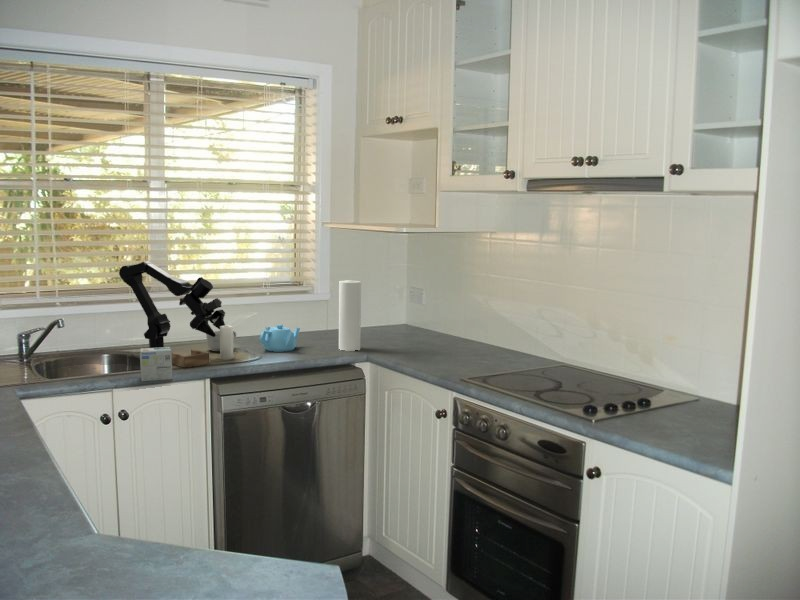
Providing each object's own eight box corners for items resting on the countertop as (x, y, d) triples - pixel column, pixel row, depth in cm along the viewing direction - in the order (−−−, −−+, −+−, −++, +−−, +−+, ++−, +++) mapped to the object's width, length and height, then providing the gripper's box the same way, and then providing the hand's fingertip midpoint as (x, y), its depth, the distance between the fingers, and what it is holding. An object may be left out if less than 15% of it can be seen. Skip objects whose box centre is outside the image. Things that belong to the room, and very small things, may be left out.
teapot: (266, 345, 337) (266, 321, 336) (300, 346, 336) (300, 322, 335) (258, 352, 322) (258, 327, 321) (293, 353, 321) (293, 327, 320)
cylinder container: (359, 351, 327) (360, 281, 323) (337, 350, 327) (338, 281, 323) (361, 347, 336) (361, 279, 332) (339, 346, 336) (340, 279, 333)
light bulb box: (171, 375, 277) (170, 346, 276) (172, 379, 271) (172, 349, 270) (140, 377, 273) (139, 347, 272) (141, 381, 267) (140, 351, 266)
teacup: (213, 353, 317) (213, 334, 316) (201, 349, 325) (201, 331, 324) (243, 350, 326) (243, 331, 324) (231, 346, 334) (231, 328, 333)
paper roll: (217, 358, 308) (217, 326, 306) (228, 356, 312) (228, 324, 310) (225, 360, 304) (224, 327, 303) (236, 358, 308) (235, 326, 306)
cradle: (169, 362, 298) (168, 352, 297) (192, 359, 305) (192, 348, 305) (185, 367, 290) (185, 356, 289) (209, 363, 297) (209, 353, 297)
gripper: (195, 295, 298) (221, 324, 296) (220, 290, 316) (245, 317, 314) (178, 314, 301) (203, 343, 300) (204, 308, 319) (228, 335, 317)
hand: (221, 334), depth 307 cm, fingers open, 9 cm apart
